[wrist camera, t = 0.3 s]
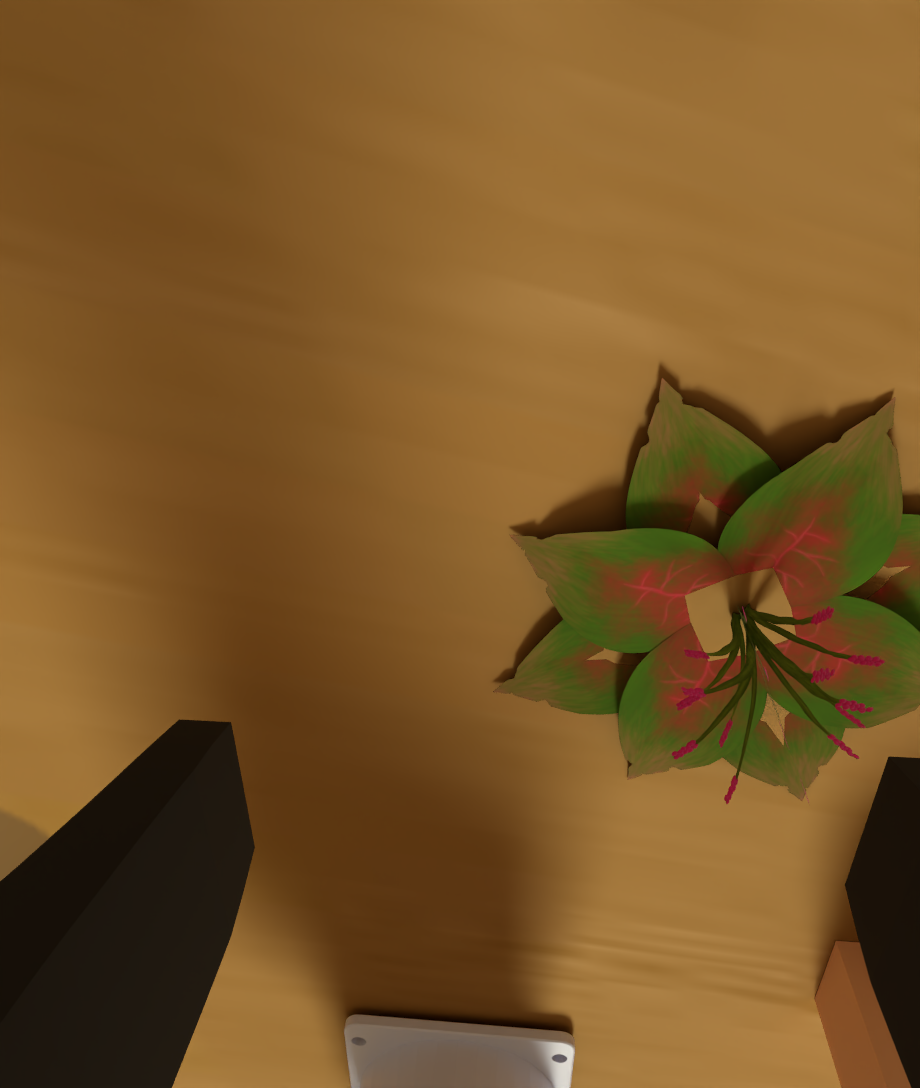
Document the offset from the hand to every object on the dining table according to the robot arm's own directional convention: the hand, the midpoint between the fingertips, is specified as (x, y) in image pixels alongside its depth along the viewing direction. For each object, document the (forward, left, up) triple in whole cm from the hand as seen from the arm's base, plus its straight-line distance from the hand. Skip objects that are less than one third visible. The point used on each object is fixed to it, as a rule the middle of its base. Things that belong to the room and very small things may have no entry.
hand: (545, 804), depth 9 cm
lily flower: (-4, -5, -10) cm, 12 cm away
